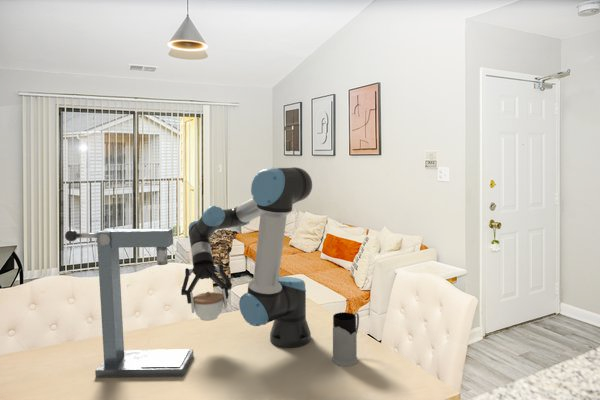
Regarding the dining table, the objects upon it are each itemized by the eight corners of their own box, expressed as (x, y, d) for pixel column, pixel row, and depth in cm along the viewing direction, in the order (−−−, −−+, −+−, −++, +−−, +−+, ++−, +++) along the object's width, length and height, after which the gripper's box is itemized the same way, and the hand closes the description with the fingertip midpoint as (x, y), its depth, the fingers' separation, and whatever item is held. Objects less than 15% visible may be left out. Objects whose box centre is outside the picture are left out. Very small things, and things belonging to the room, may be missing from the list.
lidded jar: (217, 324, 149) (216, 297, 148) (188, 322, 151) (187, 296, 150) (228, 313, 159) (227, 288, 159) (201, 311, 162) (200, 287, 161)
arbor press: (193, 356, 148) (188, 225, 144) (182, 376, 134) (176, 232, 130) (84, 357, 148) (76, 226, 144) (62, 377, 134) (52, 234, 130)
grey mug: (326, 361, 143) (326, 317, 142) (347, 346, 155) (347, 305, 153) (350, 368, 138) (349, 323, 137) (369, 352, 150) (369, 310, 148)
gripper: (231, 259, 172) (240, 309, 159) (170, 264, 164) (175, 318, 151) (233, 248, 167) (243, 299, 153) (170, 253, 159) (175, 308, 146)
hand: (209, 308), depth 152 cm, fingers closed on lidded jar, 11 cm apart
